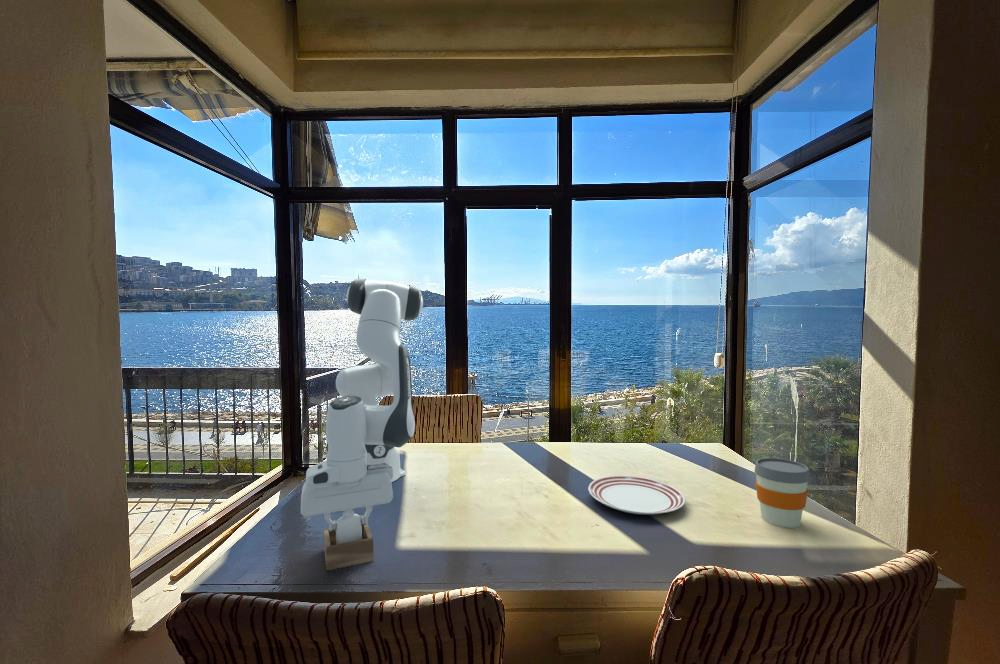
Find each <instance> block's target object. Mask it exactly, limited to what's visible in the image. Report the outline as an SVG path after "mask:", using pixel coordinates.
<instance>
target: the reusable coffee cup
mask: <svg viewBox="0 0 1000 664" xmlns="http://www.w3.org/2000/svg"><path fill="white" fill-rule="evenodd" d="M754 473H755V475H756V476H755V477H756V480H755V489H756V496H757V497H756V498H757V500H758V501H759V508H760V517H761V519H762V520H763V522H764V521H765V522H766V523H768V524H770V525H773V526H776V527H782V528H787V529H788V528H791V529H793V528H798V527H799V526H800V525H801V521H802V518H803V517H802V516H803V510H804V509H805V508H806V504H807V500H808V493H809V489H808V482H809V481H810V470H809V467H808V466H807V465H806V464H803V463H801V462H799V461H794V460H790V459H785V458H779V457H762V458H759V459H758V458H757V459H756V461H755V466H754Z"/></svg>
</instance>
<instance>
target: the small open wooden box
mask: <svg viewBox="0 0 1000 664" xmlns="http://www.w3.org/2000/svg"><path fill="white" fill-rule="evenodd" d="M323 551H324V552H325V553H324V559H325V560H324V561H326V562H325V567H326V568H325V570H329V571H333V569H334V570H338V569H337V568H339V569H342V567H343V568H348V567H352V566H351V565H353V566H357V565H361V564H362V565H363V564H366V563H367V564H368V563H370V562H374V561H375V560H374V558H375V557H374V537H373V534H372V531H371V529H370V526H369V523H368V524H367V525H362V540H357V541H352V542H346V543H341V544H336V530H335V531H330V530H329V527H328V528H323ZM347 566H348V567H347Z"/></svg>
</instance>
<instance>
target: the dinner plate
mask: <svg viewBox="0 0 1000 664" xmlns="http://www.w3.org/2000/svg"><path fill="white" fill-rule="evenodd" d="M587 489H588V493H589V495H591V497H592V498H594V500H596V501H598V502H599V503H601V504H603V505H604V506H606V507H609V508H611V509H614V510H618V511H620V512H622V513H627V514H631V515H632V514H633V515H646V516H647V515H660V514H661V515H662V514H665V513H671V512H675V511H677V510H680V509H681V508H682V507H683V506H685V503H686V498H685V495H684V494H683V493H682V492H681V491H680V490H678V489H677V488H676V487H674V486H672V485H670V484H667V483H665V482H663V481H660V480H657V479H653V478H647V477H644V476H636V475H621V474H620V475H607V476H602V477H599V478H597V479H594V480H592V481H591V482H590V483H589V485H588V487H587Z"/></svg>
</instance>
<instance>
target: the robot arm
mask: <svg viewBox="0 0 1000 664" xmlns="http://www.w3.org/2000/svg"><path fill="white" fill-rule="evenodd" d="M422 293H423V292H421V290H420V289H419V288H418V287H416V286H414V285H405V284H403V283H400V282H394V281H385V280H375V279H374V280H373V279H366V278H356V279H354V280H353V281H352V282H350V284H349V286H348V288H347V291H346V295H345V297H346V298H345V299H346V303H347V304H346V305H347V307H348V308H349V311H351V312H352V313H355V314H357V315H360V316H359V320H358V325H357V330H356V338H355V339H356V344H357V345H356V346H357V347H358V349H359V350H360V352H361V353H362V354H363V355H364V356H365V357H366V358H368V359H370V360H372V361H373V362H375V363H374V364H373V363H372V364H358V365H353V366H350V367H346V368H343V369H341V370H340V371H339V372H338V373H337V376H336V379H335V388H336V390H337V393H338V394H339V395H340V397H337V398H334V399H333V400H332V401H330V402H329V404H328V407H327V413H326V423H325V439H326V443H327V446H328V447H327V453H326V459H325V460H324V461H321V462H320V463H319V462H318V463H317V464H315V465H312V466H310V467H308V468H307V470H306V473H305V482H304V483H303V485H302V488H301V489H302V490H301V497H300V514H301V515H302V516H303V517H304V518H308V517H313V516H314V517H315V516H319V515H323V518H324V520H325V522H326V523H327V524H328V528H329V530H330V531H335V530H336V521H337V520H336V519H334V520H332V519H331V517H332V516H331V513H337V512H338V513H339V512H343V511H344V510H349V509H354V510H356V509H360V508H365V512H364V514H362V515H360V517H361V526H362V525H367V524H368V525H369V517H370V516H371V514H372V512H373V506H377V505H383V504H388V503H391V502H392V501H393V499H394V493H393V485H392V483H394V482H395V481H397V480H398V479H400V478H401V477H403V476H405V475H406V471H405V470H404V469H402V467H401V459H400V451H398V450H397V448H402V447H403V446H405V445H406V444H407V443H408V442H410V440H412V439H413V437H414V436H415V435H414V434H415V429H416V421H415V414H414V413H415V412H414V405H413V390H412V389H413V388H412V387H413V385H412V384H413V382H414V379H413V378H414V377H413V373H412V372H413V371H412V369H411V368H412V367H411V365H412V364H411V358H410V353H409V350H408V347H406V346H405V345H403V344H402V342H401V339H400V337H401V336H400V335H401V333H400V332H401V325H402V320H404V321H406V322H408V321H413V320H414V321H415V320H416V319H417V318H418V317H419V316H420V314H421V312H422V310H423V307H424V298H423V295H422ZM386 396H387V397H388V396H393V401H392V403H391V404H390V405H388V404H387V405H385V404H384V405H382V404H381V405H380V404H379V405H378V402H377V398H378V397H386Z"/></svg>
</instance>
